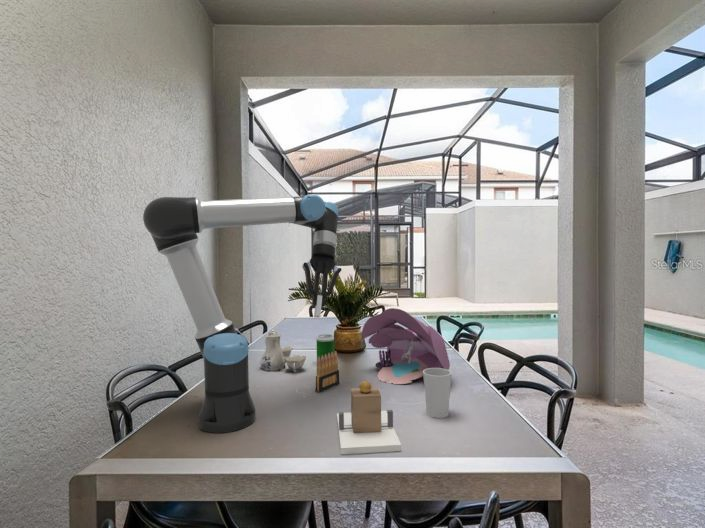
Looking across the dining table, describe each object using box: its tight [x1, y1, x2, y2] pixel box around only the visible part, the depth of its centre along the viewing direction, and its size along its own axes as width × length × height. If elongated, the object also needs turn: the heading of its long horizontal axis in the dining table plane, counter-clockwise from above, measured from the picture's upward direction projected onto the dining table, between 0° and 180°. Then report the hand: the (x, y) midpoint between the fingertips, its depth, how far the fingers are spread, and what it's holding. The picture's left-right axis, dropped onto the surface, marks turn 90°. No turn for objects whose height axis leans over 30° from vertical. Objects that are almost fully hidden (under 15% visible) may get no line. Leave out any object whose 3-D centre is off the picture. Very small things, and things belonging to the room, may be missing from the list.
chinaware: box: [260, 328, 307, 373], centre depth 162 cm, size 28×17×17 cm, turn 32°
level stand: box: [336, 409, 402, 455], centre depth 100 cm, size 20×14×6 cm
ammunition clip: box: [315, 350, 340, 393], centre depth 135 cm, size 11×2×12 cm, turn 143°
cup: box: [422, 368, 452, 419], centre depth 112 cm, size 8×8×12 cm
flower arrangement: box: [361, 307, 451, 385], centre depth 146 cm, size 35×24×28 cm
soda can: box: [316, 333, 335, 361], centre depth 165 cm, size 8×8×12 cm
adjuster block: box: [350, 380, 382, 433], centre depth 100 cm, size 6×7×12 cm
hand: (317, 316), depth 122 cm, fingers closed
